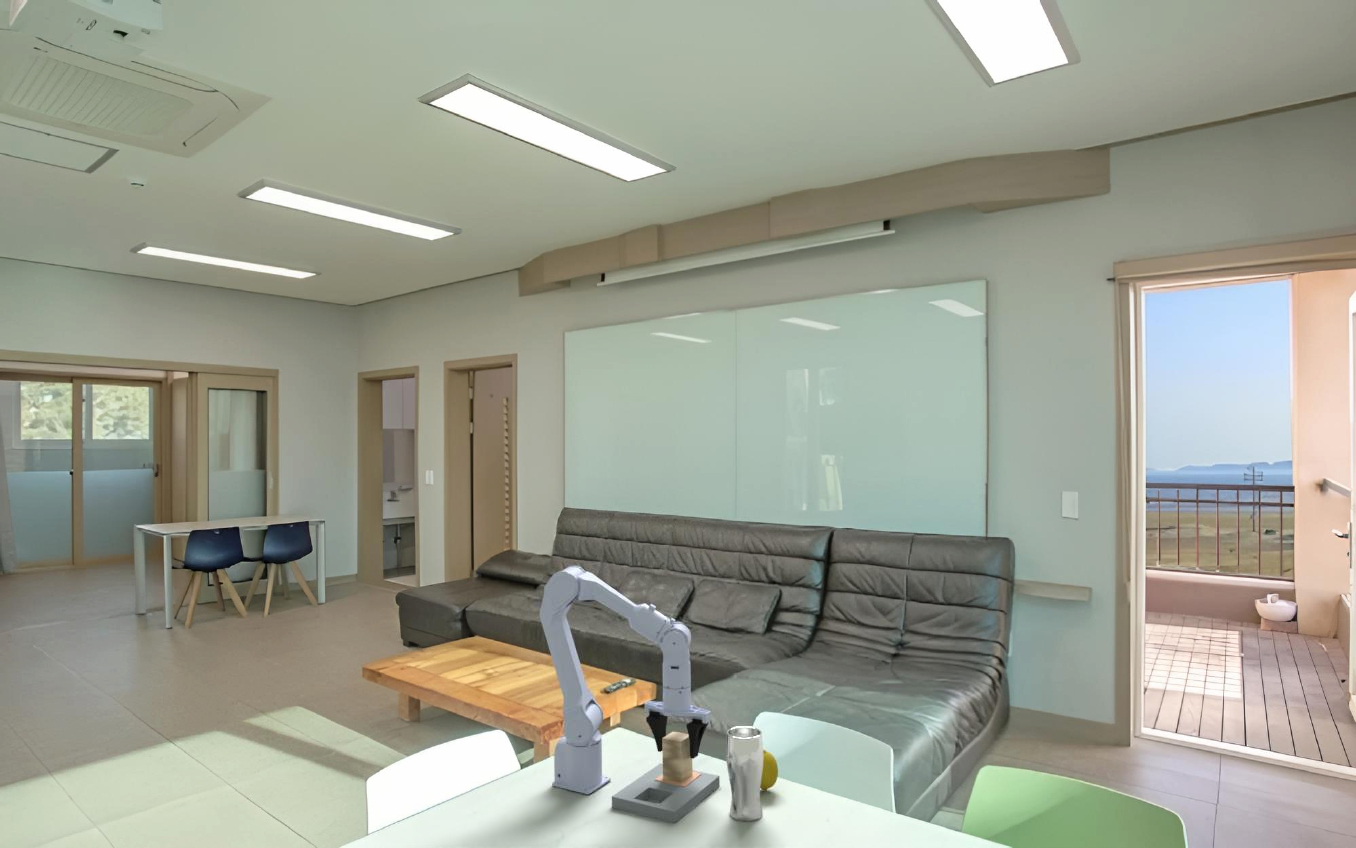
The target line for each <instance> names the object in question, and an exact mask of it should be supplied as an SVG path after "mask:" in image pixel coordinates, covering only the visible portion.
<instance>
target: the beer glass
mask: <svg viewBox="0 0 1356 848" xmlns="http://www.w3.org/2000/svg"><path fill="white" fill-rule="evenodd" d="M762 733H763V732H762V730H760V729H759V728H757V727H754V726H749V725H748V726H747V725H746V726H745V725H744V726H743V725H742V726H734V727H731V728H729V729H727V731H726V746H725V753H726V754H725V759H726V760H725V761H726V766H727V768H726V769H727V774H728V779H729V784H730V791H731V803H730V809H729V815H730V817H731V818H732V819H734V820H736V821H740V822H744V823H745V822H746V823H747V822H748V823H749V822H755V821H757V820H759V819H761V818H762V817H763V807H762V803H761V788H760V786H761V779H762V772H763V750H764V744H763V743H764V742H763V734H762Z"/></svg>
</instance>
